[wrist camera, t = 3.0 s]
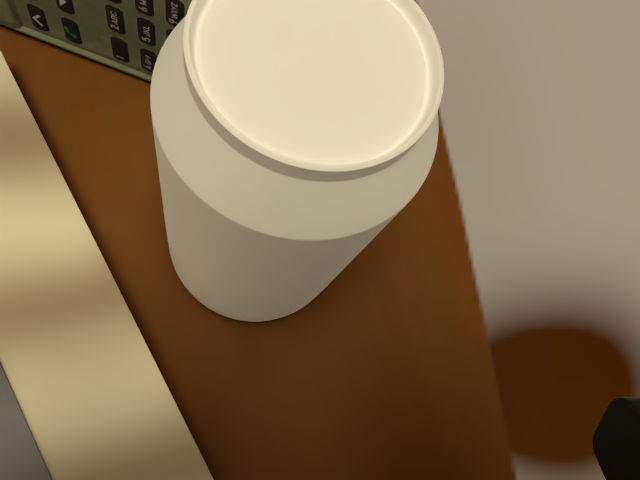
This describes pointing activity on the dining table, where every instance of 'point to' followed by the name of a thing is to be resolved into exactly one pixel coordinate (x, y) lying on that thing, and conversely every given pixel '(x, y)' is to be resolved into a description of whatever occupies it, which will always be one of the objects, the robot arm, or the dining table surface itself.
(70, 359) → the subfloor board
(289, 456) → the dining table surface
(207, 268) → the beverage can
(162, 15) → the handheld radio
